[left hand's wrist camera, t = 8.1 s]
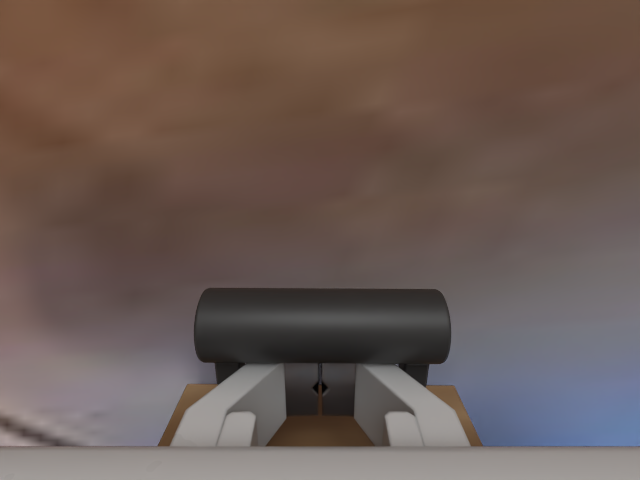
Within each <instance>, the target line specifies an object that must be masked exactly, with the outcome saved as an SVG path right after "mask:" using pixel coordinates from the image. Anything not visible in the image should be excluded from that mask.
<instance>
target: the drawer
mask: <svg viewBox="0 0 640 480" xmlns="http://www.w3.org/2000/svg"><path fill="white" fill-rule="evenodd" d="M194 343H195V350H196V354H197V357H198V358H199V360H200V361H202V362H205V363H215V369H216V378H217V384H187V386H186V388H185V390H184V392H183V394H182V396H181V398H180V400H179V403H178V405H177V407H176V409H175V411H174V413H173V415H172V417H171V419H170V421H169V423H168V425H167V428H166V430H165V432H164V434H163V436H162V438H161V440H160V442H159V444H158V446H170V444H171V442H172V439H173V437H174V435H175V433H176V431H177V428H178V426H179V424H180V422H181V420H182V417H183V415H184V413H185V411H186V409H188V408H189V407H190V406H191V405H193V404H194V403H195V402H197V401H198V400H199V399H201V398H202V397H203V396H205V395H206V394H207V393H209V392H210V391H211V390H212V389H214V388H215V387H216V386H218V385H219V384H220V383H222V382H223V381H224V380H226V379H227V378H228V377H229V376H231V375H232V374H233V373H235V372H236V371H237V370H239V369H240V368H241V367H243V366H244V365H245V363H363V364H399V368H400V369H402V370H403V371H404V372H406V373H407V374H408V375H409V376H411V377H412V378H413V379H415V380H416V381H417V382H419V383H420V384H421V385H422V386H424V387H425V388H426V389H428V390H429V391H430V392H432V393H433V394H434V395H436V396H437V397H438V398H439V399H441V400H442V401H443V402H445V403H446V404H447V405H449V406H450V407H451V408H453V409H454V410H455V412H456V414H457V416H458V418H459V421H460V423H461V425H462V427H463V430H464V432H465V434H466V436H467V439H468V441H469V443H470V445H471V446H483V445H482V443H481V441H480V439H479V437H478V434H477V432H476V430H475V428H474V426H473V424H472V422H471V420H470V418H469V416H468V414H467V412H466V409H465V407H464V405H463V403H462V401H461V399H460V397H459V395H458V393H457V391H456V389H455V386H446V385H426V383H427V376H428V369H429V364H441V363H443V362H445V361H446V359H447V357H448V354H449V350H450V344H451V323H450V316H449V311H448V307H447V304H446V301H445V298H444V296H443V295H442V293H441V292H440V291H438V290H436V289H302V288H208V289H206V290H205V291H204V292H203V293H202V295H201V297H200V300H199V303H198V306H197V310H196V315H195V323H194ZM266 446H375V445H374V444H373V443H372V441H371V440H370V439H369V438H368V436H367V435H366V434H365V432H364V431H363V430H362V428H361V427H360V426H359V424H358V423H357V422H356V420H355V419H354V417H349V416H322V385H319V400H318V416H291V417H286V420H285V421H284V422H283V424H282V425H281V426H280V428H279V429H278V430H277V432H276V433H275V434H274V436H273V437H272V438H271V439H270V441H269V442H268V443H267V445H266Z"/></svg>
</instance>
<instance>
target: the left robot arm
mask: <svg viewBox="0 0 640 480" xmlns="http://www.w3.org/2000/svg"><path fill="white" fill-rule="evenodd" d="M321 368H322V416H349V417H354V419H355V420H356V422H357V423H358V424H359V426H360V427H361V428H362V430H363V431H364V432H365V434H366V435H367V436H368V438H369V439H370V440H371V441H372V443H373V444H374V445H375V446H266V445H267V443H268V442H269V441H270V439H271V438H272V437H273V436H274V434H275V433H276V432H277V430H278V429H279V428H280V426H281V425H282V424H283V422H284V421H285V420H286V417H291V416H318V400H319V363H247V364H245V365H244V366H243V367H241V368H240V369H239V370H237V371H236V372H235V373H233V374H232V375H231V376H229V377H228V378H227V379H226V380H224V381H223V382H222V383H220V384H219V385H218V386H216V387H215V388H214V389H212V390H211V391H210V392H209V393H207V394H206V395H205V396H203V397H202V398H201V399H199V400H198V401H197V402H195V403H194V404H193V405H191V406H190V407H189V408H188V409H186V411H185V413H184V415H183V417H182V420H181V422H180V424H179V426H178V428H177V431H176V433H175V435H174V437H173V439H172V442H171V444H170V446H0V480H640V446H471V445H470V443H469V441H468V439H467V436H466V434H465V432H464V430H463V427H462V425H461V423H460V421H459V418H458V416H457V414H456V412H455V410H454V409H453V408H451V407H450V406H449V405H447V404H446V403H445V402H443V401H442V400H441V399H439V398H438V397H437V396H436V395H434V394H433V393H432V392H430V391H429V390H428V389H426V388H425V387H424V386H422V385H421V384H420V383H419V382H417V381H416V380H415V379H413V378H412V377H411V376H409V375H408V374H407V373H406V372H404V371H403V370H402V369H400V368H399V367H398V366H396V365H395V364H363V363H321Z"/></svg>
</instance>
